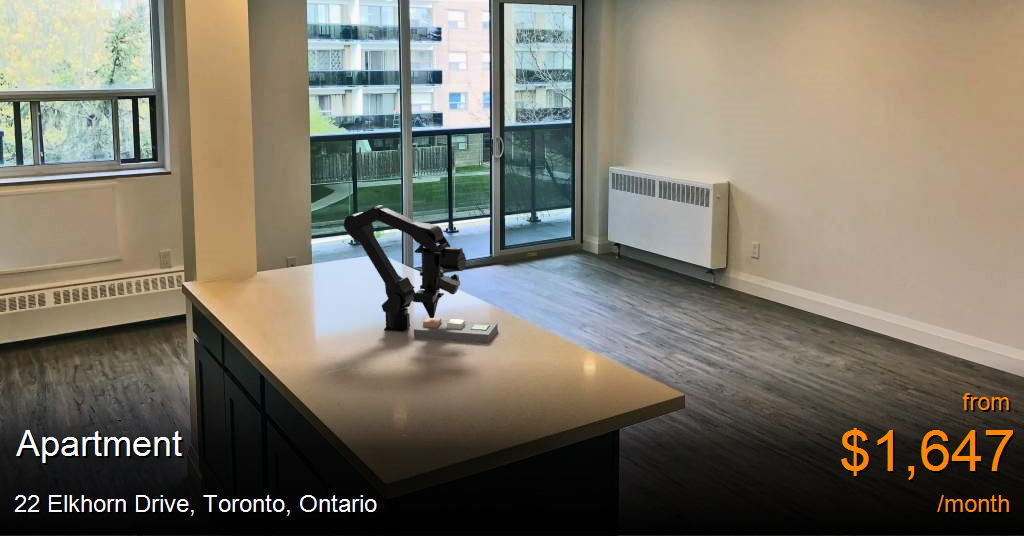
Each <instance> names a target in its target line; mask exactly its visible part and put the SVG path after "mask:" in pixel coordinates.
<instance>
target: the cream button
mask: <svg viewBox="0 0 1024 536" xmlns="http://www.w3.org/2000/svg"><path fill="white" fill-rule="evenodd" d="M449 320H450V321H449V322H448V323H447V328H452V329H463V327H464V326H465V321H466V319H458V318H457V319H456V318H450V319H449Z"/></svg>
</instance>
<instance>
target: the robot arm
mask: <svg viewBox="0 0 1024 536" xmlns="http://www.w3.org/2000/svg"><path fill="white" fill-rule="evenodd" d="M377 221H378V222H380V223H383V224H385V225H387V226H389V227H392V228H393V229H396V230H398V231H400V232H403V233H405V234H407V235H409V236H410V237H411V238H412V239H413V240H414V241H415V242H416V243H418V244H419V246H418V248H416V249H414V253H416V254H421V271H420V272H419V277H421V284H420V285H419V289H418V290H417V291H415V286H414V285H413V284H412V283H411V281H410V279H409V277H407V276H406V277H404V278H403V277H402V276H401V275H399V274H398V272H397V271H396V268H395V267H394V266H393V264H392V263H391V260H390V259H389V258H388V256H387V254H386V253H385V251H384V250H383V248H382V246H381V244H380V243H379V241H378V240H377V238H376V236H375V231H374V225H373V223H375V222H377ZM343 227H344V228H343V229H344V230H345V232H346V233H348V235H349V236H350V237H351V238H352V239H353V240H354V241H356V242H358V243H359V244H360V245H361V247H362V248H363V250H364V252H365V254H366V255H367V257H368V258H369V260H370V262H371V264H373V267H374V268H375V270H376V272H377V273H378V275H379V277H380V278H381V280H382V281H383V283H384V287H385V294H386V297H387V299H386V300H385V301H384V302H383V303H382V304H381V309H382V312H384V313H385V327H384V328H383V331H388V332H390V331H391V332H402V333H403V332H405V331H407V329H409V328H410V327H411V323H410V322H411V320H410V317H411V316H410V313H409V309H408V308H409V307H410V306H411V303H412V302H413V303H421V304H422V305H423V307H424V309H425V310H426V312H427V315H428V317H429V318H435V315H436V312H437V311H436V310H437V307H438V303H439V300H440V299H441V298H442V297H443V296H444V295H445V293H443V292H440V290H442V291H444V292H447V293H449V294H450V295H455V294H456V293H457V292H458V290H459V287H460V286H461V280H460V278H459V277H460V276H459V274H456V273H454V274H452V275H451V276H450V275H445V274H444V273H445V272H444V271H445V270H447V271H456V272H463V271H464V269H465V267H466V263H467V257H466V254H465V252H464V251H463V247H451V244H450V243H449V242H448V240H447V238H446V237H445V235H444V232H443V230H442V228H441V227H440V226H439V225H435V224H432V223H428V222H420V221H416V220H414V219H412V218H410V217H408V216H405V215H403V214H401V213H399V212H397V211H394V210H392V209H390V208H387V207H386V206H385V205H382V204H378V205H375V206H373V207H372V208H370V209H368V210H366V211H364V212H363V211H359V212H356V213H353V214H350V215H347V216H346V217H345V218H344V220H343ZM437 244H438V245H437Z"/></svg>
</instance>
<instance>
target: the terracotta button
mask: <svg viewBox="0 0 1024 536" xmlns="http://www.w3.org/2000/svg"><path fill="white" fill-rule="evenodd" d="M424 319H425V318H424ZM424 319H423V320H424ZM441 319H442V318H441V317H434V318H430V317H429V316H427V317H426V319H425V320H424V321H423V320H422V321H423V327H439V326H440V325H441Z"/></svg>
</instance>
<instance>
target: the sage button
mask: <svg viewBox="0 0 1024 536" xmlns="http://www.w3.org/2000/svg"><path fill="white" fill-rule="evenodd" d="M488 328H489V325H474V326H473V327H472V328H471V330H481V331H487V329H488Z"/></svg>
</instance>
